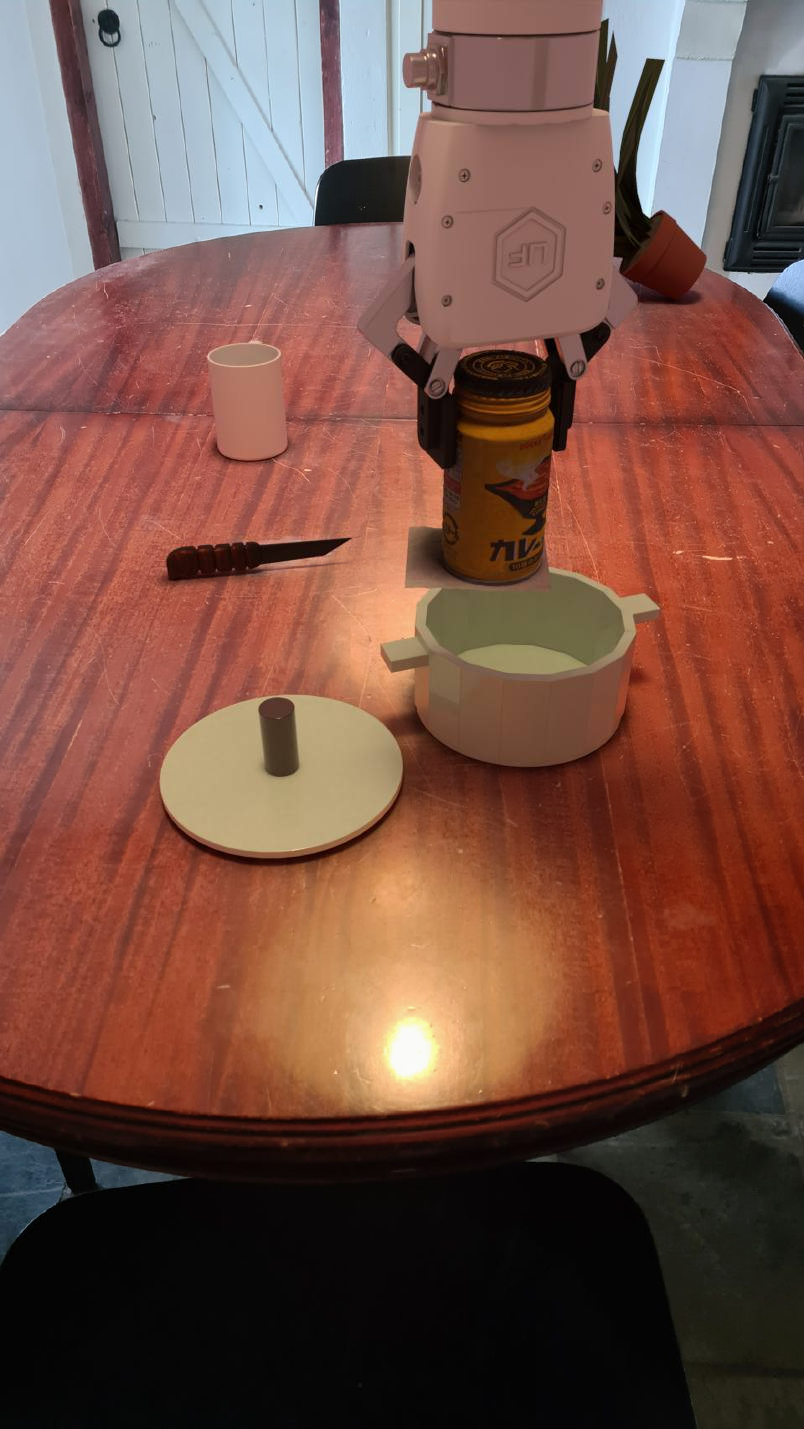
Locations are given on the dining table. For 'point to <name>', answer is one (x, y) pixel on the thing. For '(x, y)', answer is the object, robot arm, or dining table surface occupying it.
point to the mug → (248, 400)
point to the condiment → (492, 481)
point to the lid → (281, 776)
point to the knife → (243, 555)
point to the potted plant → (644, 243)
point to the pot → (523, 668)
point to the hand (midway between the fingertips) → (494, 448)
